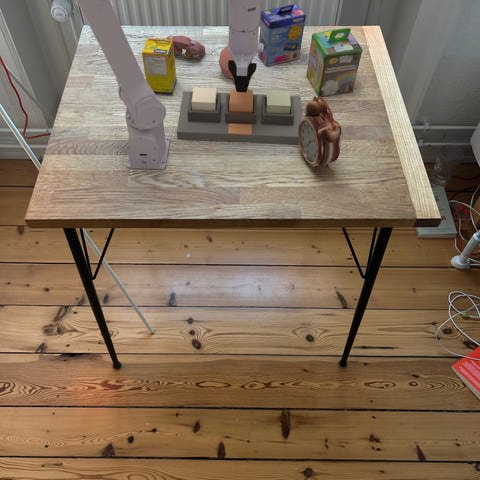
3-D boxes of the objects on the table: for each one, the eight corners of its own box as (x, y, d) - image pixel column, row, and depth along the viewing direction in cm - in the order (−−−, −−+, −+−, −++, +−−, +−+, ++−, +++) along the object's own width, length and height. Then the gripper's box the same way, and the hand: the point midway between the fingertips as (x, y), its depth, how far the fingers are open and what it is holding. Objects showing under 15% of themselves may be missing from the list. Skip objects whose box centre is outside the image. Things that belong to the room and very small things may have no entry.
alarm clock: (293, 146, 109) (302, 88, 97) (313, 141, 111) (324, 83, 99) (315, 181, 103) (327, 123, 91) (336, 175, 104) (351, 117, 93)
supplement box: (176, 80, 122) (173, 38, 114) (172, 95, 119) (168, 54, 110) (152, 78, 123) (147, 36, 114) (147, 93, 119) (141, 51, 110)
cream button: (215, 114, 110) (215, 102, 107) (192, 113, 110) (191, 101, 107) (216, 99, 113) (216, 88, 110) (194, 98, 113) (193, 87, 110)
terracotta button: (252, 115, 110) (252, 104, 107) (229, 114, 110) (229, 103, 107) (252, 101, 113) (253, 89, 110) (230, 100, 113) (230, 88, 110)
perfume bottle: (230, 88, 121) (231, 42, 112) (212, 72, 125) (211, 26, 115) (256, 77, 124) (259, 31, 114) (238, 61, 128) (239, 16, 118)
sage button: (289, 117, 110) (290, 105, 107) (266, 116, 110) (267, 104, 107) (288, 102, 113) (289, 91, 110) (266, 101, 113) (267, 90, 110)
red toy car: (166, 58, 130) (159, 42, 124) (171, 42, 131) (164, 26, 124) (202, 65, 129) (197, 50, 122) (207, 50, 130) (202, 33, 123)
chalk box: (339, 70, 127) (351, 13, 115) (353, 92, 121) (367, 35, 110) (304, 75, 125) (313, 17, 113) (317, 98, 120) (327, 40, 108)
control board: (301, 144, 110) (304, 127, 106) (177, 138, 110) (175, 122, 106) (299, 103, 118) (301, 86, 115) (183, 98, 118) (182, 81, 115)
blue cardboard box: (266, 68, 126) (270, 12, 115) (256, 56, 129) (260, 0, 118) (301, 59, 129) (308, 3, 118) (290, 47, 132) (297, -8, 121)
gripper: (264, 46, 91) (260, 107, 102) (265, 5, 100) (261, 65, 111) (225, 45, 91) (225, 106, 102) (229, 3, 100) (228, 64, 111)
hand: (241, 85), depth 107 cm, fingers open, 4 cm apart
